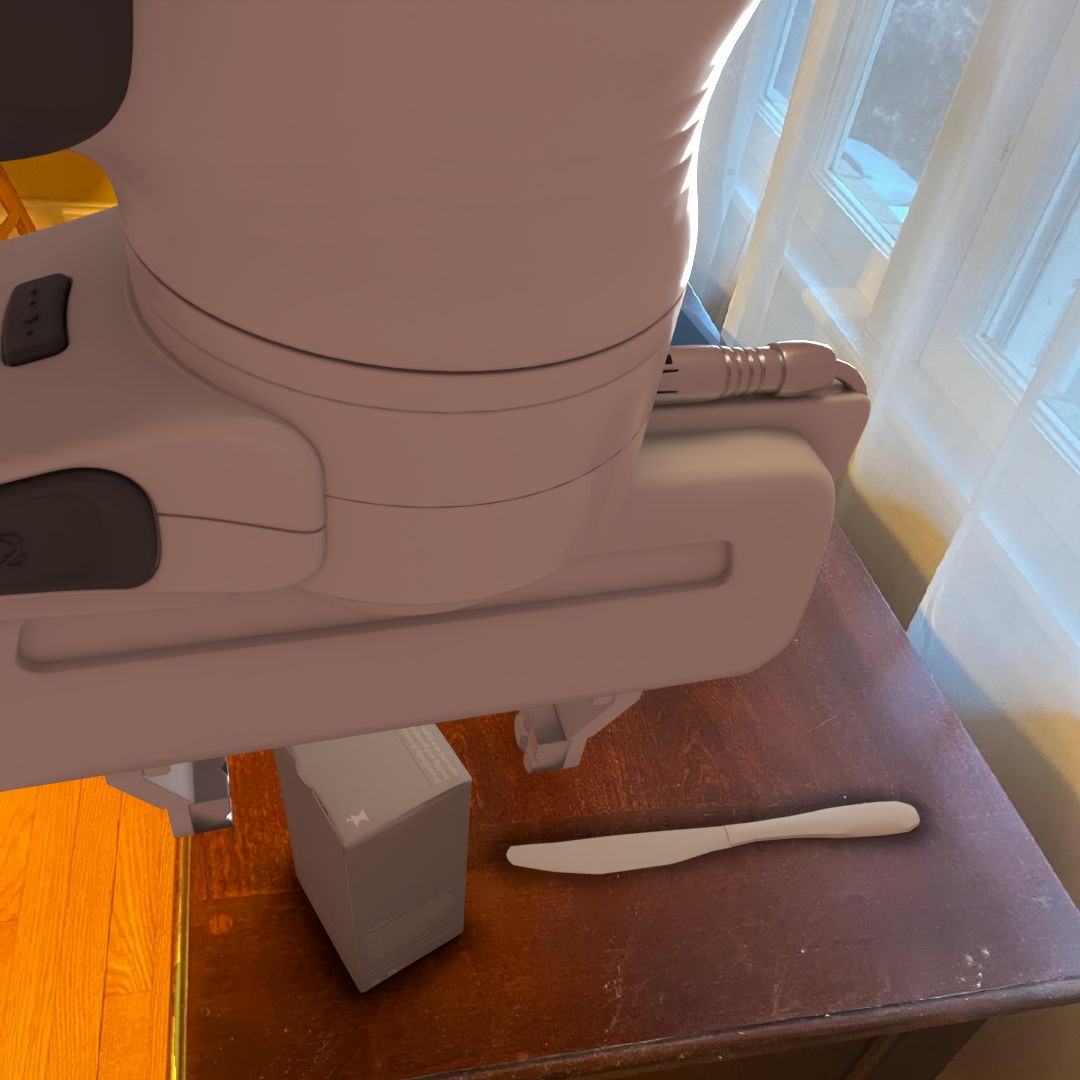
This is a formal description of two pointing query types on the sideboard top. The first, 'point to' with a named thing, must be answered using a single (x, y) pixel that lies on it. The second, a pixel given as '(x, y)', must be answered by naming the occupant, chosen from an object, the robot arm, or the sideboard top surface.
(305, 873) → the cosmetic box
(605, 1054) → the sideboard top surface
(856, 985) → the sideboard top surface
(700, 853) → the butter knife
